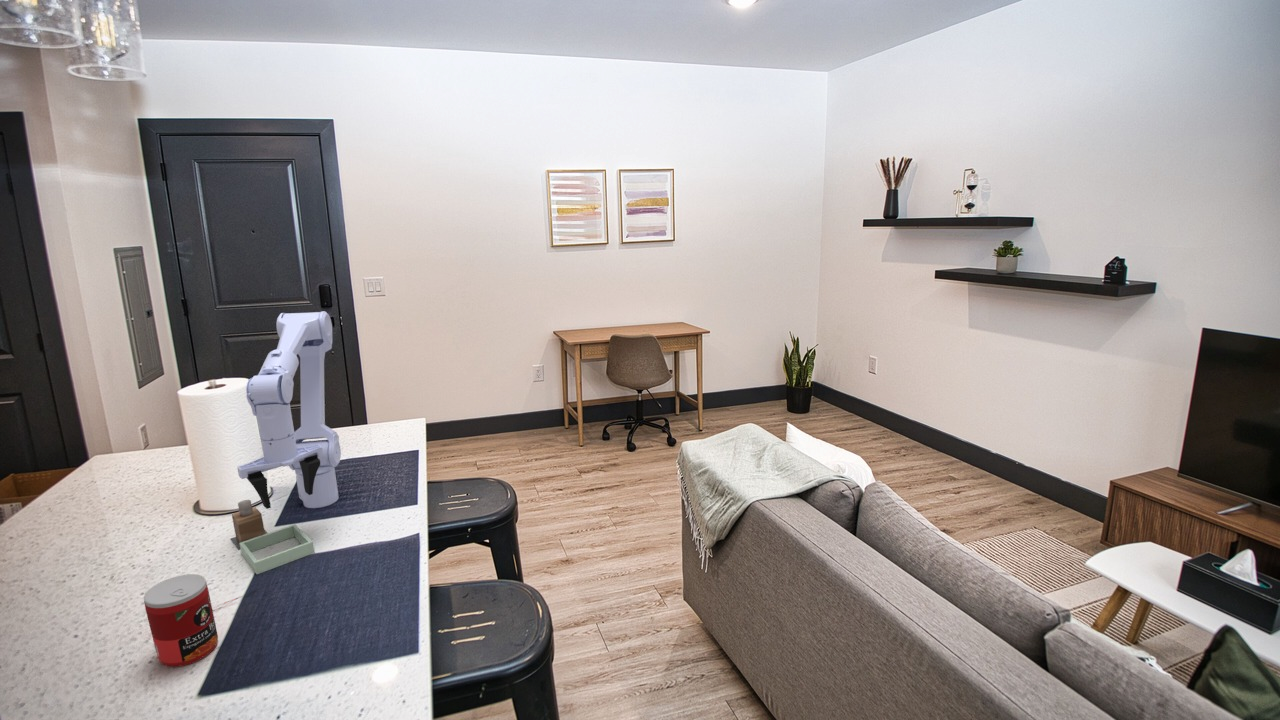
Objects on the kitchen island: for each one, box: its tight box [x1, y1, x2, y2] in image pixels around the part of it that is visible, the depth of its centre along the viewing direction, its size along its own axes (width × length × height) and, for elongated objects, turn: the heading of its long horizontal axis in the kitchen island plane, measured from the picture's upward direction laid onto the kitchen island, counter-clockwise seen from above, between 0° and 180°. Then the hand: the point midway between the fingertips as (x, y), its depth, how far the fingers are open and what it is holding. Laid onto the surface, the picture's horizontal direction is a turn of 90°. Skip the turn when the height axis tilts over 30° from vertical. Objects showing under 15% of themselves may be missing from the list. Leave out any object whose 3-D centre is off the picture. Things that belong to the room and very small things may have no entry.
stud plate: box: [229, 528, 268, 551], centre depth 126 cm, size 6×6×5 cm
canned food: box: [143, 573, 219, 668], centre depth 96 cm, size 8×8×11 cm
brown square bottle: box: [231, 499, 266, 543], centre depth 126 cm, size 4×4×8 cm
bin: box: [239, 523, 315, 575], centre depth 121 cm, size 10×10×4 cm
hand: (288, 499), depth 123 cm, fingers open, 7 cm apart
